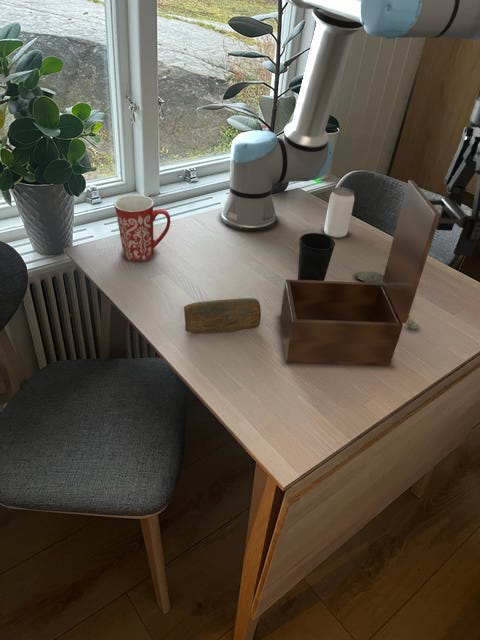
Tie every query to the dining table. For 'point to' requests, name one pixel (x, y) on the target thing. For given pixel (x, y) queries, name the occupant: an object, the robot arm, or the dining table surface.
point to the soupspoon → (377, 278)
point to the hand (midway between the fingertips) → (452, 241)
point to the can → (339, 212)
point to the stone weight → (222, 315)
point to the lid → (414, 244)
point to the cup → (314, 256)
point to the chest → (338, 323)
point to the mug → (138, 226)
